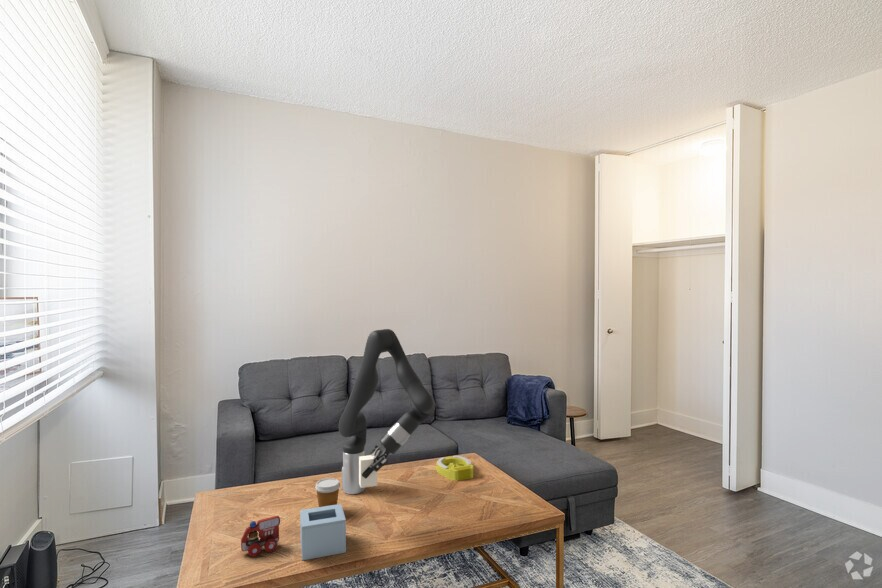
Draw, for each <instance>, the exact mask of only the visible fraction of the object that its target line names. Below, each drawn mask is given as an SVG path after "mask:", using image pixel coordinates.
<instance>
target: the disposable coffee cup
mask: <svg viewBox="0 0 882 588" xmlns="http://www.w3.org/2000/svg"><path fill="white" fill-rule="evenodd" d="M314 487H315V488H314V489H315V491H316V496H317V503H318V504H317V505H318V507H324V506H330V505H337V504H338V500H339V499H338V498H339V490H340V487H341V483H340V481H339V479H337V478H333V477H328V478H321V479H319V480H318V481H316V483H315V486H314Z"/></svg>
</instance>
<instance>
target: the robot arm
mask: <svg viewBox="0 0 882 588" xmlns="http://www.w3.org/2000/svg"><path fill="white" fill-rule="evenodd" d="M387 352H388V353H389V354H390V355H391V357H392V358H393V361H394V364H395V374H396V376H397V380H398V382H399V384H401V386H402V388H403V389H404V391H405V392H406V394H407V395H408V397H409V399H410V400H411V402H412V404H413V405H414V406H413V408H412V409H410V411H407V412H405V413H404V414H402V415H401V416H400V418H399V419H398V420H397V421H396V422H395V423H394V424H393V425H392V426H391V427H390V428H388V430H387V431H386V433H384V434H383V436H382V437H381V438H380V439H379V443H380V445H377V444H375V445H374V446H373V448H372V449H371V451H370V452H369V453H368V455H371V456H373V455H374V456H375V457H374V458H373V460H372V461H373V462H372V463H371V464H370V466H369V467H368V468H367V469H366V470H365V471H364V472H363V473H362V476H363V477H364V478H365V479H366V478H367V477H368V476H369V475H370V474H371V473H372V472H373V471H376V472H377V473H378V471H379V470H380V469H382V468H383V467H384V466H385V465H386V464H387V463H388V462H389V460H388V459H387V458H388V457H389V455H390V454H391V455H395V454H396V453H397V452H398V450H400V449H401V447H402V446H403V445H404V444H405V443H406V442H407V441H408V440H409V439H410V438H409V437H410V436H411V435H412V434H413V433H414V431H416V429H418V427H419V426H420V425H421V424H422V423H424V422H426V420H427V419H428V418H429V417H430V416H431V415H432V414H433V413H434V411H435V410H436V405H437V404H436V401H435V399H434V398H433V397H432V396H431V394H430V393H429V391H428V390H427V389H426V387H425V386H424V385H423V382H422V380H421V379H420V377H419V376H418V375H417V372H415V370H414V369H413V367H412V365H411V364H410V362H409V360H408V358H407V357H408V356H406V353H405V351H404V349H403V347H402V345H401V342H400V340H399V338H398V336H397V334H396V333H395V331H394V330H393V329H390V328H384V329H376V330H373V331H371V332H369V334H368V336H367V339H366V342H365V348H364V352H363V357H362V361H361V363H360V367H359V370H358V373H357V375H356V377H355V380H354V383H353V386H352V390H351V391H350V392H351V393H350V396H349V398H348V400H347V403H346V405H345V408H344V410H343V412H342V413H341V416H340V418H339V421H338V425H337V426H338V427H337V428H338V432H339V434H340V435H341V436H342V437H344V438H348V439H347V441H345V442H344V443H343V445H342V467H341V490H342V491H343V493H344V494H347V495H357V494H360V493H362V492H365V490H366V487H364V488H361V487H360V485H359V456H365V446H366V443H367V431H368V429H367V428H368V427H367V425H368V424H367V419H366V416H365V415H364V414H363V413H362V412H361V411H362V409H363V408H364V407H365V406H366V405H367V404H368V403H369V401H371V400H372V398H373V397H374V394H375V393H376V390H377V387H378V385H379V378H380V377H379V373H378V370H377V364H378V362H379V361H378V360H379V358H380V355H381V354H382V353H387ZM376 460H377V461H376Z"/></svg>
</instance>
